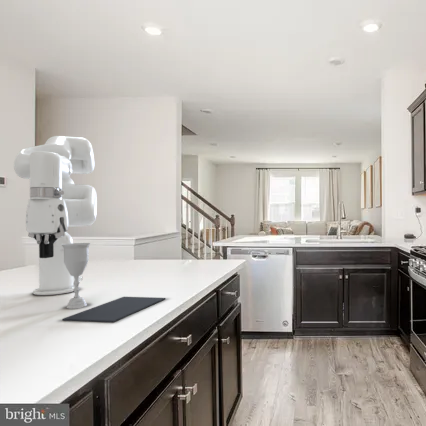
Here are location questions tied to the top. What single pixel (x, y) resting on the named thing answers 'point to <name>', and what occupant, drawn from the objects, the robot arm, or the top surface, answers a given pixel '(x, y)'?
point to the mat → (114, 309)
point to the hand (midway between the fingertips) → (46, 257)
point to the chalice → (76, 268)
